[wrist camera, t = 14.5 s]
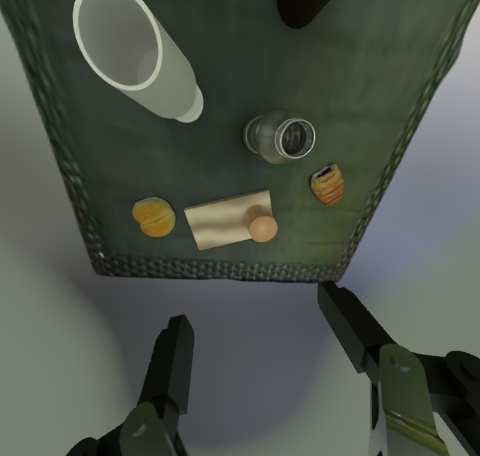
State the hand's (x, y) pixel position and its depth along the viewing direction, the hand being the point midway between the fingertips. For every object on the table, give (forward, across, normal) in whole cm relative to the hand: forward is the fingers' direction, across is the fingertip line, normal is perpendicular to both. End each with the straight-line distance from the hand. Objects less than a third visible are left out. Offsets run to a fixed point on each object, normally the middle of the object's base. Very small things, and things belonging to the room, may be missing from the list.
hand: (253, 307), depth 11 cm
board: (+32, +1, +10) cm, 33 cm away
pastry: (+33, -22, +6) cm, 40 cm away
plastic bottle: (+32, -8, -7) cm, 34 cm away
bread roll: (+33, +17, +4) cm, 37 cm away
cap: (+31, -5, +10) cm, 32 cm away
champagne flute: (+32, +4, -15) cm, 36 cm away
